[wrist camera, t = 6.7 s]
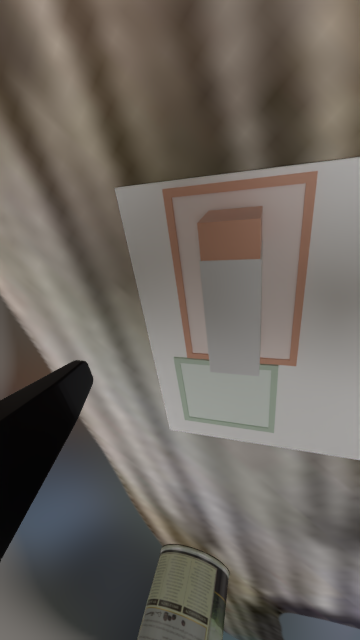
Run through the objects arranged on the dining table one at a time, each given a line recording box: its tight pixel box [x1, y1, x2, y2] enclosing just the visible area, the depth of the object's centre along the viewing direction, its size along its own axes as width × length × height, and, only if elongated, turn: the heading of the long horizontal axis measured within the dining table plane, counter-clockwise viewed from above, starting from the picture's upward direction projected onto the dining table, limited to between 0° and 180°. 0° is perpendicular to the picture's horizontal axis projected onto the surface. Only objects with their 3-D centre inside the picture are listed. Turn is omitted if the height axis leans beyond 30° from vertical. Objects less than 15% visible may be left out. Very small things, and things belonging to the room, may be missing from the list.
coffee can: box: [137, 545, 229, 640], centre depth 34 cm, size 10×10×14 cm
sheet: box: [114, 157, 360, 460], centre depth 17 cm, size 19×16×1 cm
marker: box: [197, 206, 263, 376], centre depth 14 cm, size 8×3×3 cm, turn 8°
